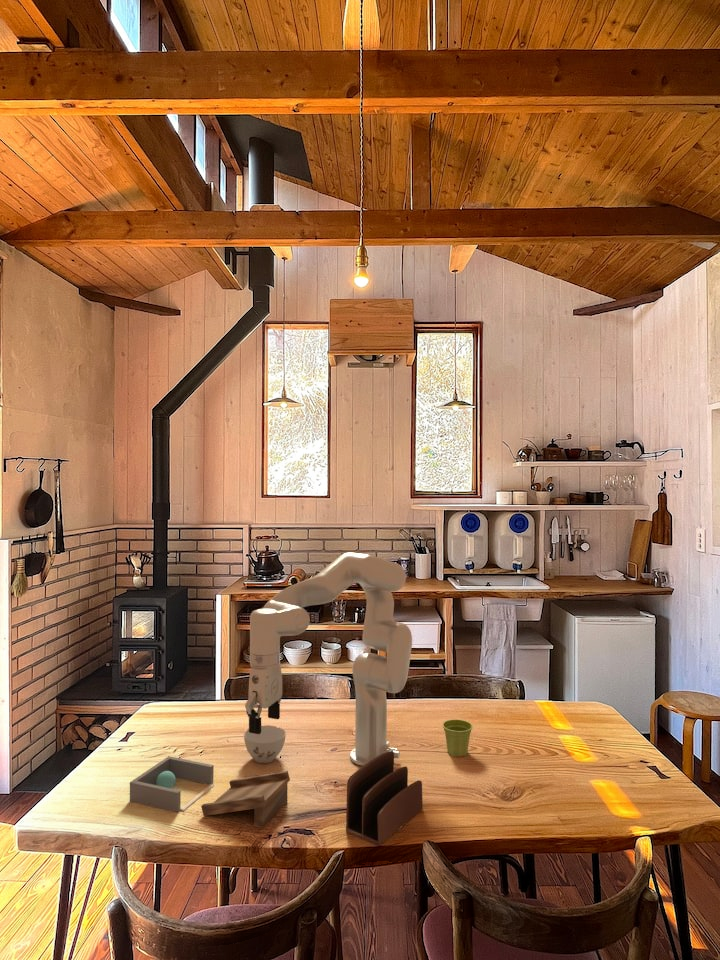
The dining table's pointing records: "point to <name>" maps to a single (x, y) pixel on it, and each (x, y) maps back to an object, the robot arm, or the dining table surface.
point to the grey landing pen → (167, 798)
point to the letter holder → (381, 799)
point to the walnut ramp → (253, 797)
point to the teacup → (265, 743)
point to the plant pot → (457, 736)
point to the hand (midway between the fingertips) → (264, 725)
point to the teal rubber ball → (166, 779)
